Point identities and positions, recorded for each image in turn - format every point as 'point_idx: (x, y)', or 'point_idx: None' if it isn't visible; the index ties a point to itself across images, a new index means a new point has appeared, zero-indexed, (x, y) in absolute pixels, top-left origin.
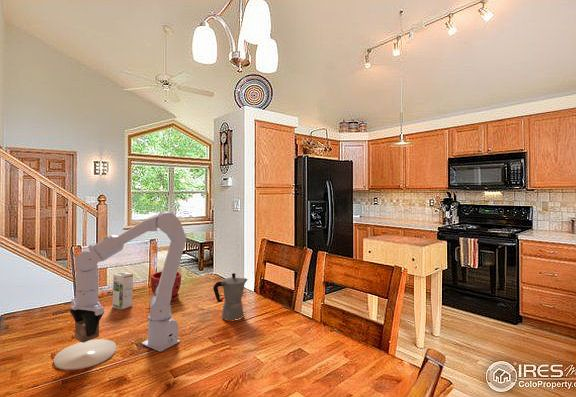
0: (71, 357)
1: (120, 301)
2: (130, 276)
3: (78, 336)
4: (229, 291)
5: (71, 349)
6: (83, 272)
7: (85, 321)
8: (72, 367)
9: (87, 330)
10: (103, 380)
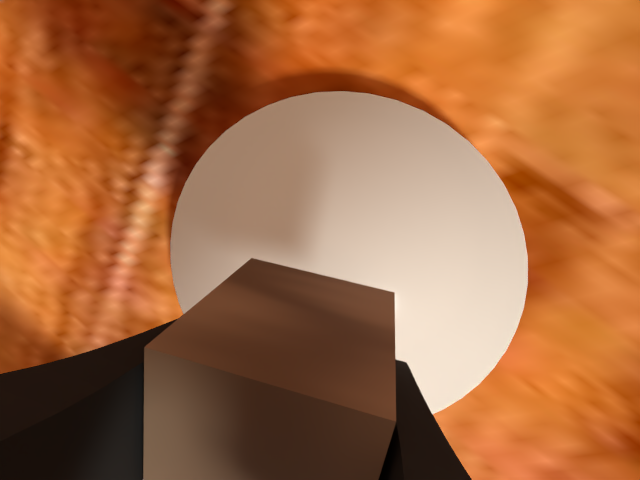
0: (354, 196)
1: None
2: None
3: (321, 293)
4: None
5: (460, 276)
6: None
7: (3, 398)
8: (244, 119)
9: (150, 330)
10: (26, 118)
